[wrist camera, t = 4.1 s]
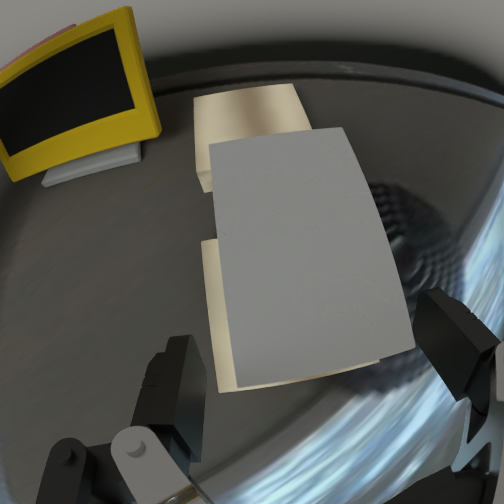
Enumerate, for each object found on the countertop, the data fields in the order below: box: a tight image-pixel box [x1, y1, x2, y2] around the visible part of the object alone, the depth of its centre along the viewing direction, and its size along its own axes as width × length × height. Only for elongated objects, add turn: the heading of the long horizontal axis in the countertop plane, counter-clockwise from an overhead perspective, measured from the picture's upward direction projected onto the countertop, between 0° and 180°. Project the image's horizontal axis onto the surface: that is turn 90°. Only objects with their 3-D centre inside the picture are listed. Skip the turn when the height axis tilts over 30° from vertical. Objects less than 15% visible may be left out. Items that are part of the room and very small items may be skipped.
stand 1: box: [194, 84, 312, 193], centre depth 25 cm, size 10×10×3 cm
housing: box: [209, 127, 416, 388], centre depth 13 cm, size 5×8×10 cm, turn 8°
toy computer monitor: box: [0, 6, 162, 188], centre depth 21 cm, size 20×8×16 cm, turn 95°
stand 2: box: [201, 239, 379, 393], centre depth 19 cm, size 10×10×3 cm
